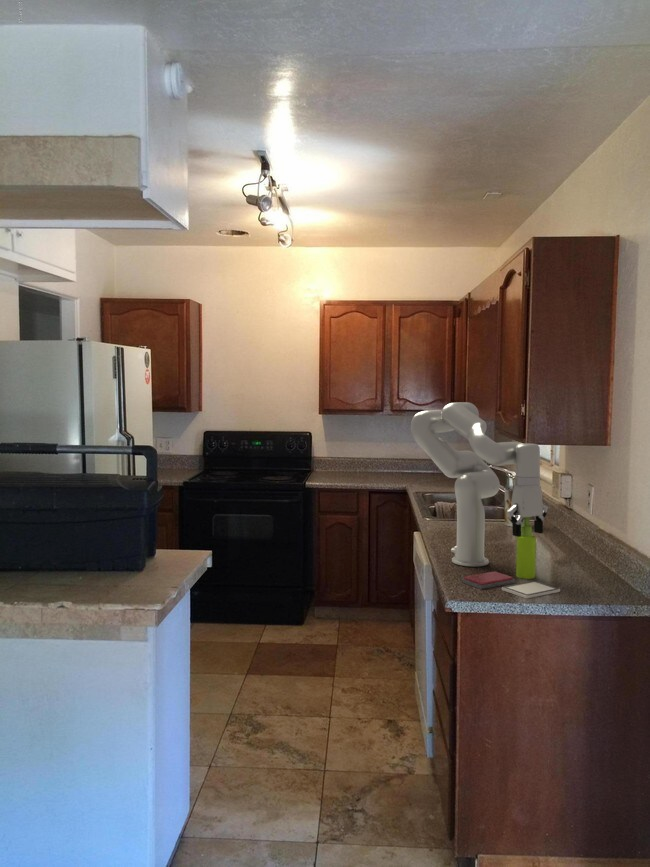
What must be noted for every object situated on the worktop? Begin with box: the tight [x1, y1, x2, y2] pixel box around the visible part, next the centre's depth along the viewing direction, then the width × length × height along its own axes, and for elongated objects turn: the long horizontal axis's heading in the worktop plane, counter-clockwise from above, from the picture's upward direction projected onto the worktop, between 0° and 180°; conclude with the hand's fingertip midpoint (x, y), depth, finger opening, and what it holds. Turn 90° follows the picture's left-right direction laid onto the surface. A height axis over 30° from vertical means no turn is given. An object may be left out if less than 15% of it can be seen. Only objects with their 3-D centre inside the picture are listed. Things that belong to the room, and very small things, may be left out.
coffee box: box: [504, 488, 524, 528], centre depth 309 cm, size 9×6×16 cm
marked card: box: [501, 580, 561, 600], centre depth 212 cm, size 10×14×1 cm
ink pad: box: [461, 571, 516, 590], centre depth 221 cm, size 9×14×2 cm, turn 120°
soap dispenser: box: [515, 517, 537, 580], centre depth 228 cm, size 6×7×20 cm
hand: (527, 534), depth 227 cm, fingers open, 9 cm apart
